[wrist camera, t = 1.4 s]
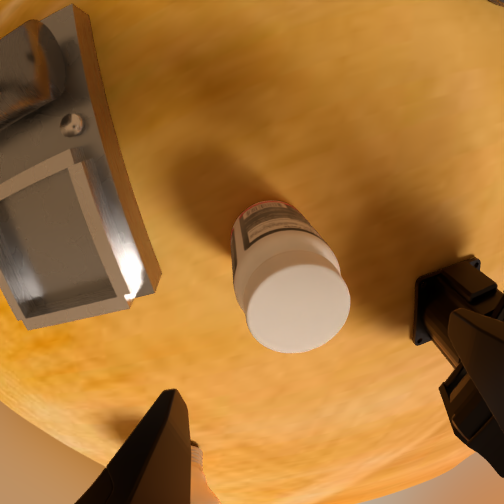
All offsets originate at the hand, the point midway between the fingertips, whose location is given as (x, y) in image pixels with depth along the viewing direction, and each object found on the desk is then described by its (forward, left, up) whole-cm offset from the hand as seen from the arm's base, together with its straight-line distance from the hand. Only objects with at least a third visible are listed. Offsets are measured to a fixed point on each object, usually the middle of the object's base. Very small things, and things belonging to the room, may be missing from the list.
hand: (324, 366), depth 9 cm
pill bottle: (0, 0, -12) cm, 12 cm away
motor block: (+8, +12, -11) cm, 18 cm away
